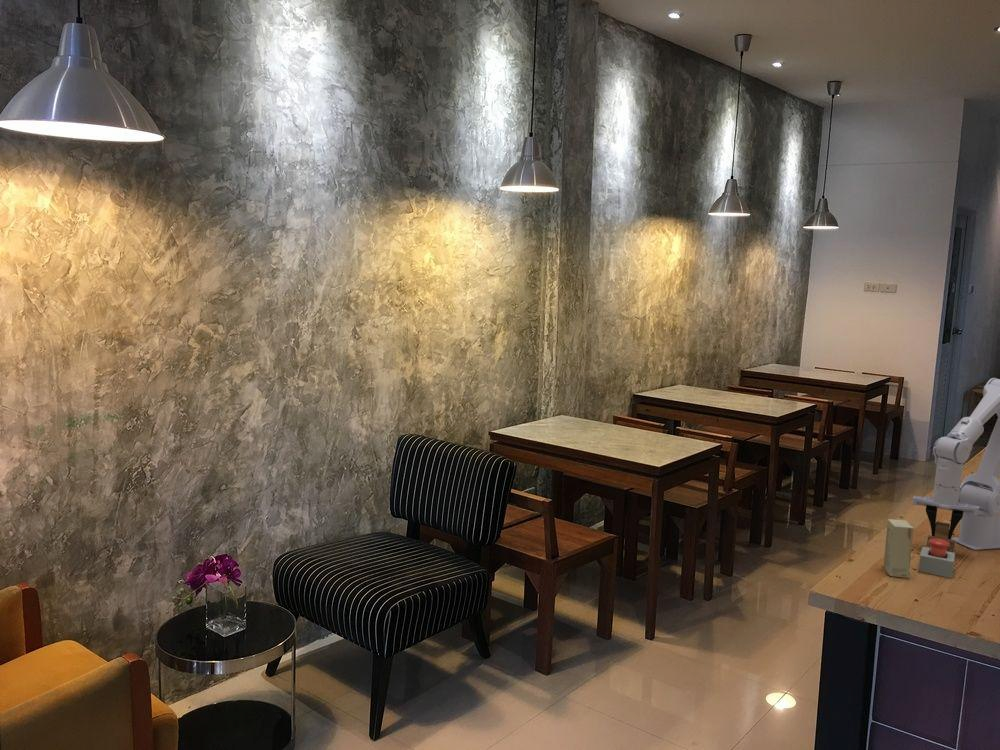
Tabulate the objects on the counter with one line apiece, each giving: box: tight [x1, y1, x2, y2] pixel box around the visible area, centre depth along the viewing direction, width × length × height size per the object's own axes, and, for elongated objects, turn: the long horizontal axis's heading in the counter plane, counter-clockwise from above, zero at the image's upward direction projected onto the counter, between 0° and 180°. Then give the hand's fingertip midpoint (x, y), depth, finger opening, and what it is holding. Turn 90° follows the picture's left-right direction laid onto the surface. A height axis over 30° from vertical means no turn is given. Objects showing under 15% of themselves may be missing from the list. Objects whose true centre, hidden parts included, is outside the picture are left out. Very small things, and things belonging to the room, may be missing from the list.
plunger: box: [929, 538, 950, 558], centre depth 194 cm, size 4×4×5 cm
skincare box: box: [882, 518, 914, 579], centre depth 192 cm, size 6×4×12 cm
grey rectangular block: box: [918, 546, 956, 579], centre depth 195 cm, size 7×7×4 cm
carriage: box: [925, 521, 956, 552], centre depth 206 cm, size 6×6×7 cm
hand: (941, 536), depth 206 cm, fingers closed on carriage, 3 cm apart
